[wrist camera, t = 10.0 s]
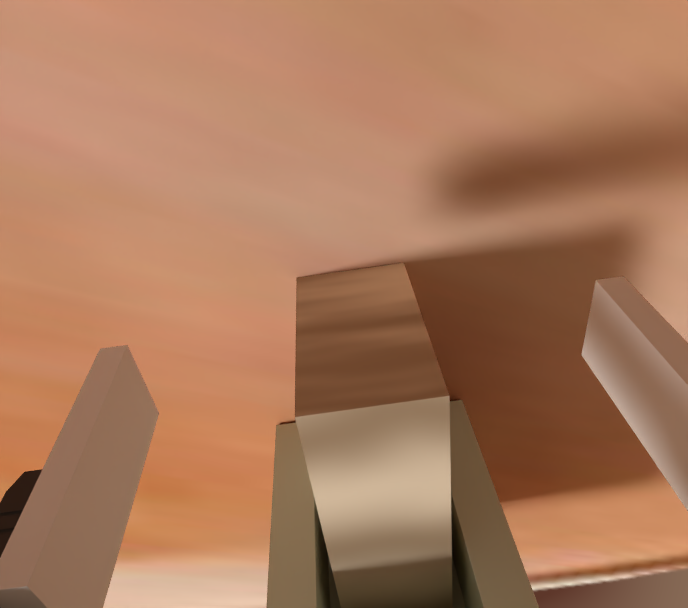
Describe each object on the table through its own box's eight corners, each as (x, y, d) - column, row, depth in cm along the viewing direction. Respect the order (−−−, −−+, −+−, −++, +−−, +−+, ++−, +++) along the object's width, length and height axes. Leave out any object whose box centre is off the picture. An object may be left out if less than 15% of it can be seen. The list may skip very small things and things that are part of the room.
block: (276, 425, 29) (262, 684, 19) (462, 399, 29) (552, 645, 19) (300, 513, 34) (299, 762, 23) (461, 491, 33) (534, 731, 23)
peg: (296, 276, 24) (294, 417, 17) (403, 261, 24) (449, 395, 17) (335, 473, 32) (346, 629, 24) (416, 461, 32) (452, 615, 24)
